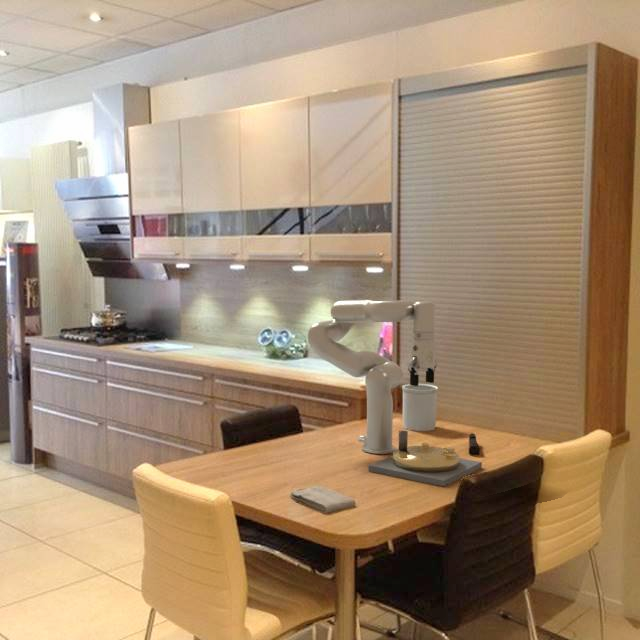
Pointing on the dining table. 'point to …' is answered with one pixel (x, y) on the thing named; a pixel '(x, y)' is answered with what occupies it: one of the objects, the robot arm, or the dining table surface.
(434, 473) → the base plate
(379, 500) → the dining table surface
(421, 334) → the robot arm
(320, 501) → the washcloth
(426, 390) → the utensil holder
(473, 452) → the hand tool
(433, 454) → the beige piece
